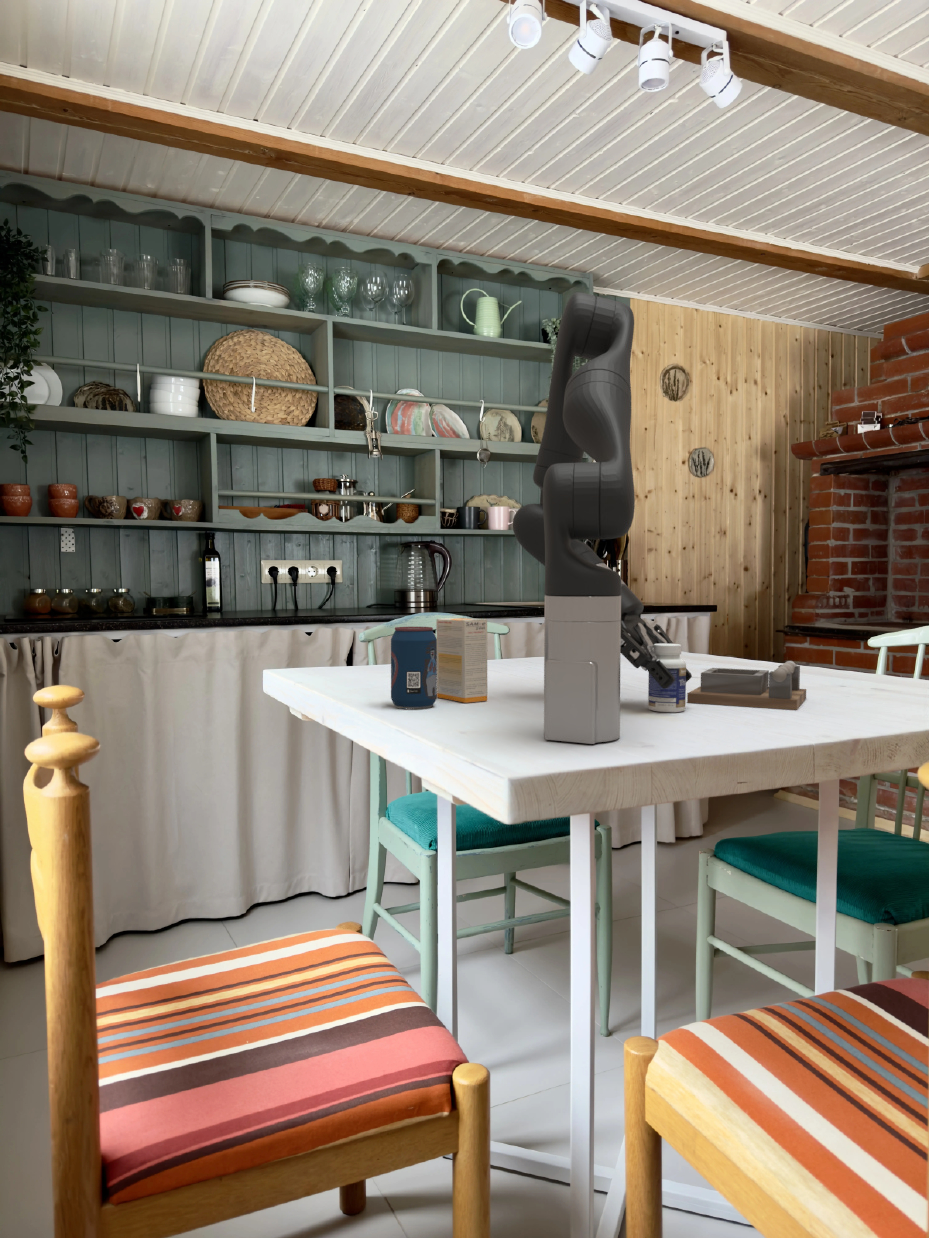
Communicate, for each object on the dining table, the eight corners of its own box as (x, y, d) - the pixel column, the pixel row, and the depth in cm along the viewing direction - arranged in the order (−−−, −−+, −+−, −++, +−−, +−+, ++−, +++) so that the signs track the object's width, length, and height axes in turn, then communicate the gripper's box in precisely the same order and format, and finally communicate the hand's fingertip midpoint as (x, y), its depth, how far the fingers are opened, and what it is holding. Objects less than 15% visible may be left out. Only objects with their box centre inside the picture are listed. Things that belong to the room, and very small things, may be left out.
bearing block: (796, 710, 125) (797, 669, 124) (687, 702, 132) (687, 664, 132) (806, 698, 137) (806, 661, 137) (705, 692, 144) (706, 657, 144)
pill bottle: (686, 713, 121) (687, 646, 121) (648, 712, 122) (649, 645, 122) (684, 707, 127) (685, 643, 126) (647, 706, 128) (648, 642, 127)
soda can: (392, 703, 131) (391, 626, 131) (436, 702, 132) (436, 626, 131) (389, 710, 124) (389, 628, 124) (436, 709, 125) (436, 628, 124)
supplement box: (489, 701, 134) (489, 618, 133) (464, 703, 131) (464, 619, 130) (459, 695, 140) (459, 616, 140) (435, 697, 138) (435, 617, 137)
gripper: (599, 582, 122) (676, 670, 116) (642, 582, 134) (715, 662, 127) (567, 618, 126) (640, 705, 119) (612, 615, 137) (681, 694, 131)
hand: (678, 682), depth 123 cm, fingers closed on pill bottle, 5 cm apart
